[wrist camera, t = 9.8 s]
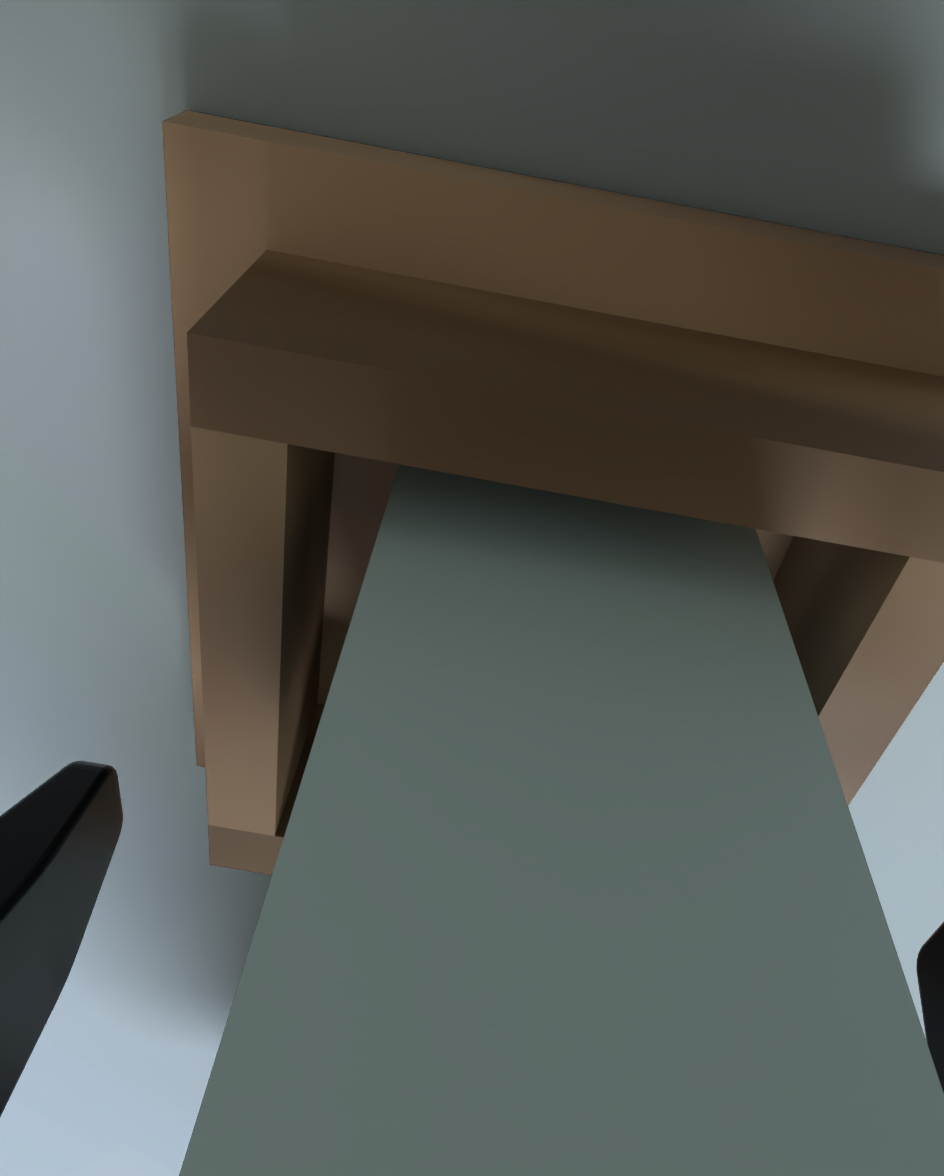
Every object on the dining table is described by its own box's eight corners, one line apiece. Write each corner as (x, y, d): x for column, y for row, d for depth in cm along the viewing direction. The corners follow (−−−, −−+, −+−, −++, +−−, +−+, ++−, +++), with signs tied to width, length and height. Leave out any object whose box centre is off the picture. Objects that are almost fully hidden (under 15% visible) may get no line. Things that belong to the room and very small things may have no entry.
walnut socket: (755, 828, 17) (793, 1003, 14) (210, 734, 17) (139, 896, 14) (1070, 280, 11) (1259, 403, 8) (187, 109, 10) (43, 174, 7)
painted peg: (648, 718, 15) (734, 1467, 7) (381, 672, 14) (204, 1387, 7) (741, 486, 12) (1018, 1319, 5) (410, 426, 12) (173, 1193, 5)
